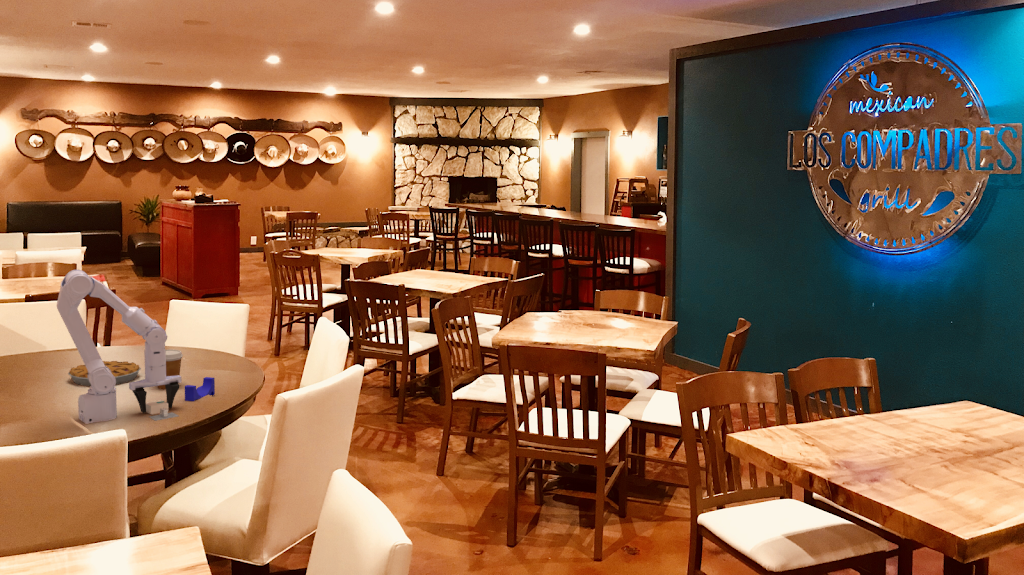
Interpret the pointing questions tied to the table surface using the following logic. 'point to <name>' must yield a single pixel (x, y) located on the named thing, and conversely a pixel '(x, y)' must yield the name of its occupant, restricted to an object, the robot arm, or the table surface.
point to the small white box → (156, 406)
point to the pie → (119, 370)
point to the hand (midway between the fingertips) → (156, 409)
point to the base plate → (158, 417)
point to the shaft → (163, 412)
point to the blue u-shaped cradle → (200, 390)
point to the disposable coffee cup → (172, 364)
